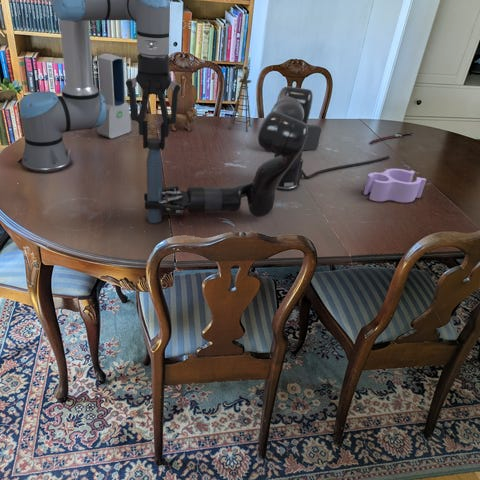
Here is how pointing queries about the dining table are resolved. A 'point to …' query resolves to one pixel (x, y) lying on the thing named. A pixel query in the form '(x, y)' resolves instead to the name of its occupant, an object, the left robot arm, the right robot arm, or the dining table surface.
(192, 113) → the lion figurine
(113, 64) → the electronic device
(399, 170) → the clip
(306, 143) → the handheld gaming console
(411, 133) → the sword
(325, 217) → the dining table surface
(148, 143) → the cap
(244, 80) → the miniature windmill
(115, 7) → the left robot arm
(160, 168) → the bottle
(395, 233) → the dining table surface
